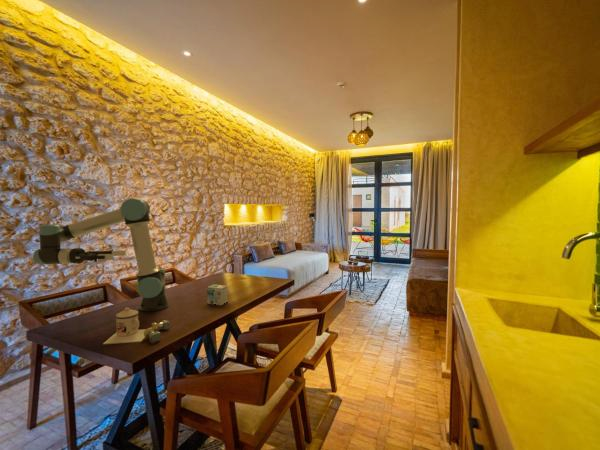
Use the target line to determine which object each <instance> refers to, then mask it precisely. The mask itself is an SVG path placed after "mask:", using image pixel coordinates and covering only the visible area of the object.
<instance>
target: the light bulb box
mask: <svg viewBox="0 0 600 450" xmlns="http://www.w3.org/2000/svg"><path fill="white" fill-rule="evenodd" d="M206 288H207V289H206V291H207V293H206V294H207V296H206V297H207V298H206V299H207V301H206V303H208V304H209V305H214V304H216V305H215V306H223V305H225V304H227V303H228V285H224V284H223V285H222V284H211V285H209V286H207V287H206ZM226 302H227V303H226ZM224 303H225V304H224Z"/></svg>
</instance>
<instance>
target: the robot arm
mask: <svg viewBox="0 0 600 450" xmlns="http://www.w3.org/2000/svg"><path fill="white" fill-rule="evenodd" d="M150 210H151V209H150V205H149V203H148V202H147V201H146V200H144V199H141V198H139V197H131V198H126V200H124V201H123V202H122V204H121V206H120V208H118V209H115V210H111V211H108V212H104V213H101V214H99V215H95V216H92V217H89V218H86V219H82V220H80V221H77V222H74V223H70V224H66V225H63V226H61V227H60V225H59V224H42V225H40V226H39V232H38V233H39V246H40V247H39V249H36V250H35V251H34V253H33V255H32V259H33V262H34V263H35V264H37V265H63V264H64V265H65V266H68V265H69V264H82V263H84V261H85V262H86V261H88V262H94V263H96V262H98V261H108V260H109V261H112V260H114V257H120V256H125V257H126V255H127V250H126V249H124V250H123V249H122V250H114V249H113V248H111V250H98V251H97V250H94V251H91V250H90V251H89V250H88V251H85V249H84V248H82V247H79V248H77V247H75V248H73V247H72V248H71V247H69V248H68V247H67V248H61V247H62V246H61V242H62V243H63V242H67V241H70V240H72V239H74V238H78V237H81V236H84V235H87V234H90V233H93V232H96V231H99V230H103V229H106V228H109V227H111V226H114V225H117V224H121V223H125V226H126V227H128V228H129V231H130V236H131V242H132V245H133V250H134V256H135V259H136V264H137V270H138V271H137V272H136V274H135V275H136V276H135V277H136V280H137V286H136V290H137V293H138V295H139V296H141V297H142V299H141V301H140V304H139V310H140V311H141V312H157V311H161V310H164V309H167V308H168V307H169V300H168V298H167V295H166V277H165V276H166V273H165V269H164V268H158V267H157V264H156V259H155V254H154V250H153V244H152V239H151V235H150V230H149V224H150V222H151V219H150V212H151V211H150Z"/></svg>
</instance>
